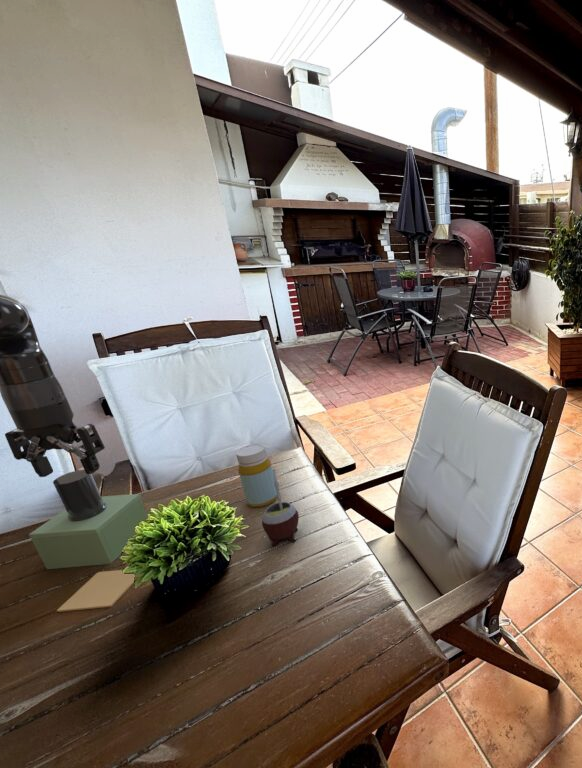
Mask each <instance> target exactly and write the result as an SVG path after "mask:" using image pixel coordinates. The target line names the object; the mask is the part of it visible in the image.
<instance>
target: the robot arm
mask: <svg viewBox="0 0 582 768" xmlns="http://www.w3.org/2000/svg"><path fill="white" fill-rule="evenodd" d="M37 335H38V334H37V332H36V329H35V326H34V322H33V321H32V318H31V315H30V312H29V311H28V309H27V307H26V306H25V305H24V304H23V303H21V302H20V301H19V300H18V299H16V298H14V297H12V296H8V295H6V294H0V397H1V398H2V401H3V402H4V405H5V407H6V409H7V411H8V413H9V415H10V416H11V419H12V421H13V424H14V425H15V428H14V429H12V430H10V431H7V432H6V433H4V437H5V439H6V441H7V444H8V446H9V448H10V451H11V454H12V455H13V458H14V459H15V460H17V461H20V460H25V461H26V462H28V463H30V465H31V466H32V468H33V470H34V472H35V474H37V475H38V477H39V478H46V477H47V476H50V475H51V474H53V472H54V468H53V466H52V465H51V462H50V460H49V458H48V456H47V455H46V453H47V451H51V450H58V451H59V450H63V451H65V452H66V453H70V454H71V453H72V454H74V455H75V456H77V457H79V461H80V464H81V465H82V468H83V470H85V472H86V474H92V475H93V474H94V473H95V472H97V471H98V470H99V468H100V467H101V465H100V463H99V461H98V458H97V456H96V454H98V453H99V452H101V451H104V450H105V445H104V443H103V441H102V439H101V437H100V435H99V433H98V430H97V429H96V427H95V425H94V424H93V423H88V424H86V425H81V426H77V425H76V424H75V423H74V422H73V419H74V416H75V414H74V412H73V410H72V407H71V405H70V403H69V400H68V398H67V396H66V393H65V391H64V388H63V386H62V385H61V383H60V381H59V379H58V378H57V377H56V375H55V373H54V370H53V368H52V366H51V363H50V361H49V359H48V357H47V355H46V353H45V352H44V350H43V348H42V347H41V345H40V342H39V338H38V336H37ZM74 442H75V443H74Z"/></svg>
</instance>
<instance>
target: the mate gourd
mask: <svg viewBox="0 0 582 768" xmlns="http://www.w3.org/2000/svg"><path fill="white" fill-rule="evenodd" d="M272 469H273V475H274V482H275V483H274V485H275V487H276V491H277V496H278V497H277V500H278V501H277V502H276V503H274V504H272V505H270V506H268V507H267V508H266V509H265V511H264V512H263V515H262V517H261V526H262V528H263V531H264V532H265V534H266V535H267V537H268V540H269V541H270V542H271V543H272V544H271V548H276V547H277V546H278V545H280V544H281V543H283V542H284V541H287V542H289V543H292V544H294V543H296V541H297V539H296V538H295V533H296V532H297V531H298V530H299V529H298V525H299V519H300V518H299V517H300V515H299V511H298V510H297V508H296V507H295V505H294V504H292V503H290V502H287V501H283V500H282V498H281V497H282V496H281V492H280V484H279V482H278V477H277V471H276V468H272Z"/></svg>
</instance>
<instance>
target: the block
mask: <svg viewBox="0 0 582 768" xmlns="http://www.w3.org/2000/svg"><path fill="white" fill-rule="evenodd" d="M101 497H102V499H103V502H104V503H106V505H107V508H106V509H105V510H104V511H103V512H102V513H100V514H98V515H96V516H94V517H92V518H89V519H86V520H82V521H75V522H73V521H70V520H69V519H68V514H67V511H66V509H65V508H64V509H63V510H62V511H60V512H59V513H57V514H56V515H54V516H53V517H52V518H50V519H49V520H47V521H46V522H44V523H42V525H41V526H39V527H38V528H36V529H34V530H33V531H32V532H30V533H28V536H29V538H30V540H31V542H32V543H33V546H34V547H35V549H36V551H37V553H38V555H39V557H40V559H41V561H42V563H43V565H44V567H45V569H46V570H56V569H65V568H67V569H68V568H79V567H91V566H101V565H102V566H103V565H112V564H113V563H114V562H115V561H116V560H118V558H119V557H120V556H121V555H122V554H123V553H122V550H123V548H124V547H125V545H126V543H127V541H128V539H130V538H131V537H133V536H134V534H135V527H136V526H137V525H138V524H139V523H140V522H141V521H143V520H146V519H148V517H149V514H148V512H147V510H146V506H145V503H144V501H143V499H142V496H141V494H140V493H130V494H118V495H117V494H115V495H103V496H102V495H101ZM121 553H122V554H121Z"/></svg>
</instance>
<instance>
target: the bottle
mask: <svg viewBox="0 0 582 768" xmlns="http://www.w3.org/2000/svg"><path fill="white" fill-rule="evenodd" d="M235 455H236V460H237V462H238V468H237V470H238V475H239V479H240V482H241V485H242V489H243V493H244V496H245V500H246V503H247V505H248V506H249V507H252V508H262V507H266V506H268V505H270V504H273V502H275V501H276V500H277V499H278V496H277V491H276V487H275V485H274V483H275V482H274V475H273V469H274V468H273V465H272V462H271V460H270V459H269V458H268V454H267V450H266V446H265V444H263V443H252V444H247V445H245V446H242V447H240V448H238V449H237V450H236V453H235Z"/></svg>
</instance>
